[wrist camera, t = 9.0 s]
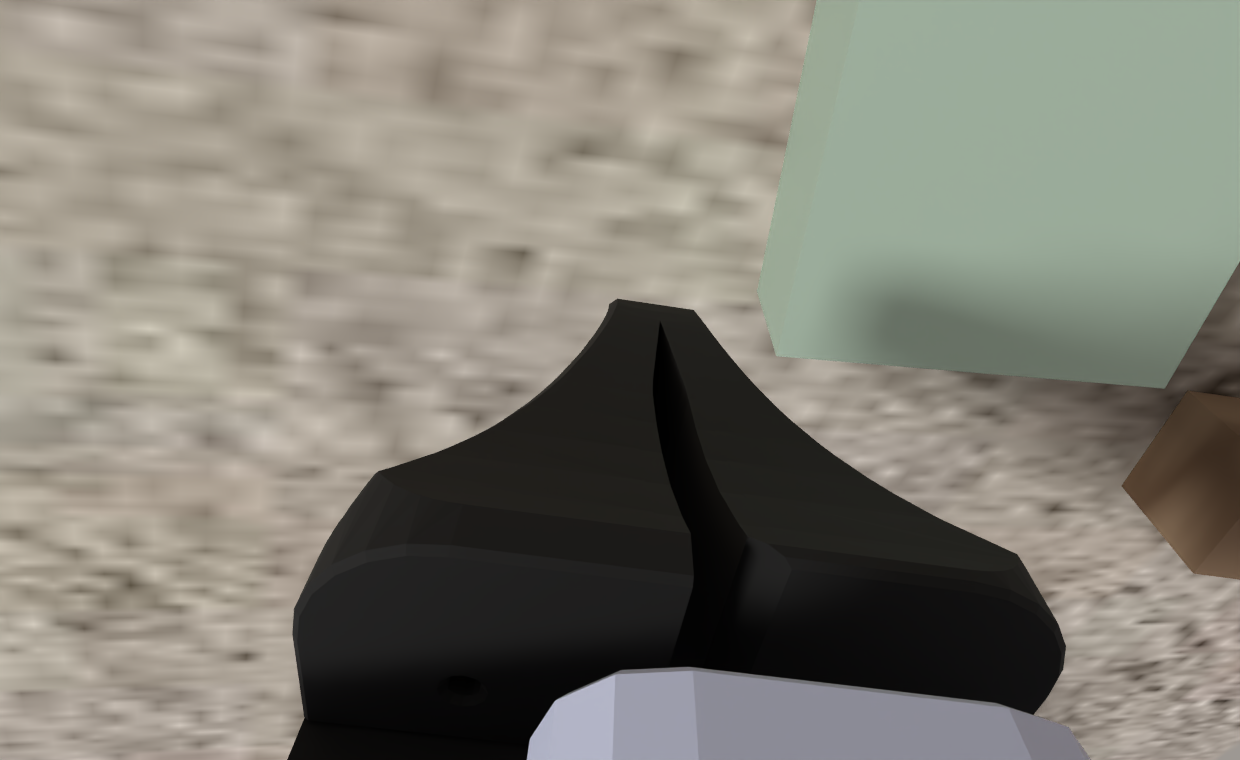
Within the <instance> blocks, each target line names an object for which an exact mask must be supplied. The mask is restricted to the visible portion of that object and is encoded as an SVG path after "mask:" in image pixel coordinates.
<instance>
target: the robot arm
mask: <svg viewBox="0 0 1240 760" xmlns="http://www.w3.org/2000/svg"><path fill="white" fill-rule="evenodd" d="M293 641H294V648H295V655H296V662H297V669H298V676H299V683H300V690H301V697H302V704H303V711H304V717H305V718H304V721H303V723H302V726H301V728H300V730H299V733H298V735H297V738H296V740H295V742H294V745H293V747H292V750H291V752H290V755H289V757H288V759H287V760H1091V759H1090V757H1089V756H1088V755H1087V753H1086V752H1085V750H1084V749H1083V747H1082V746H1081V744H1080V743H1079V741H1078V740H1077V739H1076V737H1075V736H1074V734H1073V733H1072V731H1071V730H1070V728H1069V727H1067V726H1064V725H1061V724H1059V723H1056V722H1053V721H1050V720H1047V719H1044V718H1041V717H1038V716H1035V715H1034V713H1035V712H1036V711H1037V710H1038V708H1039V707H1040V706H1041V704H1042V703H1043V702H1044V701H1045V699H1046V698H1047V697H1048V695H1049V693H1050V692H1051V690H1052V688H1053V686H1054V685H1055V683H1056V681H1057V679H1058V678H1059V676H1060V674H1061V672H1062V670H1063V665H1064V657H1065V650H1066V645H1065V642H1064V639H1063V637H1062V634H1061V631H1060V628H1059V625H1058V623H1057V621H1056V619H1055V618H1054V616H1053V614H1052V613H1051V611H1050V609H1049V607H1048V606H1047V604H1046V602H1045V600H1044V599H1043V597H1042V595H1041V593H1040V592H1039V590H1038V588H1037V587H1036V585H1035V583H1034V581H1033V580H1032V578H1031V576H1030V574H1029V573H1028V571H1027V569H1026V568H1025V566H1024V564H1023V563H1022V561H1021V560H1020V558H1019V556H1018V555H1017V554H1015V553H1013V552H1011V551H1009V550H1007V549H1004V548H1002V547H1000V546H998V545H996V544H993V543H991V542H989V541H987V540H985V539H983V538H980V537H978V536H976V535H974V534H972V533H969V532H967V531H965V530H963V529H961V528H958V527H956V526H954V525H952V524H950V523H948V522H945V521H943V520H941V519H939V518H937V517H935V516H933V515H932V514H930V513H928V512H926V511H924V510H922V509H921V508H919V507H917V506H915V505H913V504H912V503H910V502H908V501H906V500H904V499H902V498H901V497H899V496H897V495H895V494H893V493H892V492H890V491H888V490H887V489H885V488H884V487H882V486H880V485H879V484H877V483H875V482H874V481H872V480H870V479H869V478H867V477H866V476H864V475H863V474H861V473H860V472H858V471H857V470H855V469H854V468H852V467H851V466H850V465H848V464H847V463H845V462H844V461H842V460H841V459H839V458H838V457H836V456H835V455H833V454H832V453H831V452H829V451H828V450H827V449H825V448H824V447H823V446H821V445H820V444H819V443H817V442H816V441H815V440H814V439H813V438H811V437H810V436H809V435H808V434H807V433H805V432H804V431H803V430H802V429H801V428H799V427H798V426H797V425H796V424H795V423H793V422H792V421H791V420H790V419H789V418H788V417H787V416H785V415H784V414H783V413H782V412H781V411H780V410H779V409H778V408H777V407H776V406H775V405H774V404H773V403H772V402H771V401H770V400H769V399H768V398H767V397H766V396H765V395H764V394H763V393H762V392H761V391H760V390H759V389H758V388H757V387H756V386H755V385H754V384H753V383H752V381H751V380H750V379H749V378H748V377H747V376H746V375H745V374H744V373H743V371H742V370H741V369H740V368H739V367H738V366H737V364H736V363H735V362H734V361H733V360H732V358H731V357H730V356H729V355H728V354H727V352H726V351H725V350H724V349H723V347H722V346H721V345H720V344H719V342H718V341H717V340H716V338H715V337H714V336H713V335H712V333H711V332H710V331H709V329H708V328H707V327H706V325H705V324H704V323H703V321H702V320H701V319H700V317H699V316H698V315H697V314H696V312H695V311H694V310H690V309H683V308H676V307H669V306H663V305H656V304H649V303H642V302H636V301H629V300H622V299H617V300H615V301H613V302H612V303H610V304H609V309H608V312H607V314H606V316H605V318H604V320H603V322H602V324H601V325H600V327H599V328H598V330H597V331H596V333H595V334H594V336H593V337H592V338H591V340H590V341H589V342H588V344H587V345H586V346H585V347H584V349H583V350H582V351H581V353H580V354H579V355H578V356H577V357H576V358H575V359H574V360H573V361H572V363H571V364H570V365H569V366H568V367H567V368H566V369H565V370H564V371H563V372H562V373H561V374H560V375H559V376H558V377H557V378H556V379H555V380H554V381H553V382H552V383H551V384H550V385H549V386H548V387H547V388H545V389H544V390H543V391H542V392H541V393H540V394H538V395H537V396H536V397H535V398H533V399H532V400H531V401H530V402H528V403H527V404H526V405H524V406H523V407H521V408H520V409H518V410H517V411H516V412H514V413H513V414H511V415H510V416H508V417H507V418H505V419H504V420H502V421H501V422H499V423H498V424H496V425H494V426H493V427H491V428H489V429H487V430H485V431H483V432H481V433H479V434H478V435H476V436H474V437H472V438H469V439H467V440H465V441H463V442H460V443H458V444H456V445H454V446H451V447H449V448H447V449H444V450H442V451H439V452H437V453H434V454H431V455H428V456H425V457H422V458H419V459H416V460H413V461H410V462H407V463H404V464H401V465H398V466H395V467H392V468H388V469H385V470H381V471H378V472H377V473H376V474H375V475H374V476H373V477H372V478H371V480H370V481H369V482H368V483H367V485H366V486H365V487H364V489H363V490H362V491H361V493H360V494H359V495H358V497H357V498H356V499H355V501H354V502H353V503H352V505H351V506H350V508H349V509H348V510H347V512H346V513H345V515H344V516H343V518H342V519H341V520H340V522H339V523H338V525H337V526H336V528H335V529H334V531H333V532H332V534H331V536H330V537H329V539H328V541H327V542H326V544H325V546H324V548H323V550H322V552H321V554H320V556H319V558H318V560H317V562H316V564H315V566H314V568H313V570H312V572H311V574H310V576H309V579H308V581H307V583H306V585H305V587H304V589H303V591H302V593H301V595H300V598H299V600H298V602H297V604H296V606H295V608H294V620H293Z"/></svg>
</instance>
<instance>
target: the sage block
mask: <svg viewBox="0 0 1240 760" xmlns="http://www.w3.org/2000/svg"><path fill="white" fill-rule="evenodd" d="M1239 262H1240V0H817V2H816V7H815V12H814V16H813V21H812V26H811V31H810V36H809V41H808V46H807V51H806V55H805V60H804V65H803V70H802V75H801V80H800V85H799V90H798V95H797V99H796V104H795V109H794V114H793V119H792V124H791V129H790V134H789V138H788V143H787V148H786V153H785V158H784V163H783V168H782V173H781V178H780V182H779V187H778V192H777V197H776V202H775V207H774V212H773V217H772V221H771V226H770V231H769V236H768V241H767V246H766V251H765V256H764V261H763V265H762V270H761V275H760V280H759V285H758V290H757V293H758V296H759V299H760V303H761V306H762V309H763V313H764V316H765V320H766V323H767V326H768V330H769V333H770V336H771V340H772V343H773V347H774V350H775V353H776V356H781V357H793V358H805V359H817V360H829V361H841V362H853V363H865V364H877V365H889V366H901V367H913V368H925V369H937V370H949V371H961V372H973V373H984V374H996V375H1008V376H1020V377H1032V378H1044V379H1056V380H1068V381H1080V382H1092V383H1104V384H1116V385H1128V386H1140V387H1152V388H1164V389H1165V387H1166V385H1167V384H1168V382H1169V380H1170V379H1171V377H1172V375H1173V374H1174V372H1175V370H1176V369H1177V367H1178V365H1179V363H1180V362H1181V360H1182V358H1183V357H1184V355H1185V353H1186V352H1187V350H1188V348H1189V346H1190V345H1191V343H1192V341H1193V340H1194V338H1195V336H1196V335H1197V333H1198V331H1199V330H1200V328H1201V326H1202V324H1203V323H1204V321H1205V319H1206V318H1207V316H1208V314H1209V313H1210V311H1211V309H1212V308H1213V306H1214V304H1215V302H1216V301H1217V299H1218V297H1219V296H1220V294H1221V292H1222V291H1223V289H1224V287H1225V286H1226V284H1227V282H1228V280H1229V279H1230V277H1231V275H1232V274H1233V272H1234V270H1235V269H1236V267H1237V265H1238V264H1239Z"/></svg>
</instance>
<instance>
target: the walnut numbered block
mask: <svg viewBox="0 0 1240 760" xmlns="http://www.w3.org/2000/svg"><path fill="white" fill-rule="evenodd" d="M1122 487H1123V488H1124V489H1125V491H1126V492H1127V493H1128V494H1129V496H1130V497H1131V498H1132V499H1133V500H1134V502H1135V503H1136V504H1137V505H1138V507H1139V508H1140V509H1141V510H1142V511H1143V513H1144V514H1145V515H1146V516H1147V517H1148V519H1149V520H1150V521H1151V522H1152V524H1153V525H1154V526H1155V527H1156V528H1157V530H1158V531H1159V532H1160V533H1161V535H1162V536H1163V537H1164V538H1165V539H1166V541H1167V542H1168V543H1169V544H1170V545H1171V547H1172V548H1173V549H1174V550H1175V552H1176V553H1177V554H1178V555H1179V556H1180V558H1181V559H1182V560H1183V561H1184V563H1185V564H1186V565H1187V566H1188V567H1189V569H1190V570H1191V571H1192V572H1193V573H1194V574H1202V575H1209V576H1217V577H1225V578H1232V579H1240V398H1236V397H1229V396H1222V395H1215V394H1209V393H1202V392H1195V391H1187V392H1186V394H1185V395H1184V397H1183V398H1182V400H1181V401H1180V403H1179V404H1178V405H1177V407H1176V408H1175V410H1174V411H1173V413H1172V414H1171V415H1170V417H1169V418H1168V420H1167V421H1166V423H1165V424H1164V426H1163V427H1162V428H1161V430H1160V431H1159V433H1158V434H1157V436H1156V437H1155V439H1154V440H1153V441H1152V443H1151V444H1150V446H1149V447H1148V449H1147V450H1146V451H1145V453H1144V454H1143V456H1142V457H1141V459H1140V460H1139V462H1138V463H1137V464H1136V466H1135V467H1134V469H1133V470H1132V472H1131V473H1130V475H1129V476H1128V477H1127V479H1126V480H1125V482H1124V483H1123V485H1122Z"/></svg>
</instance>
